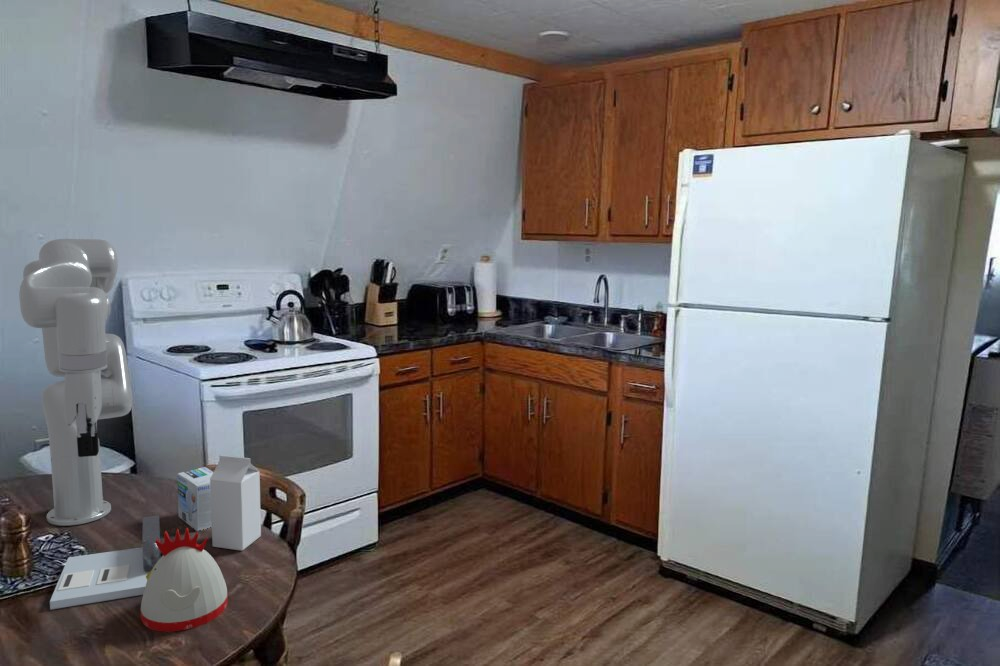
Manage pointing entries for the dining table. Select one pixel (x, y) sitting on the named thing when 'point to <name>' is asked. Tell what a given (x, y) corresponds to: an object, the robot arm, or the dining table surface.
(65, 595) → the label board
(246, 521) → the milk carton
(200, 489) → the light bulb box
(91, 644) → the dining table surface
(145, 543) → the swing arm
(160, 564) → the kitchen timer
